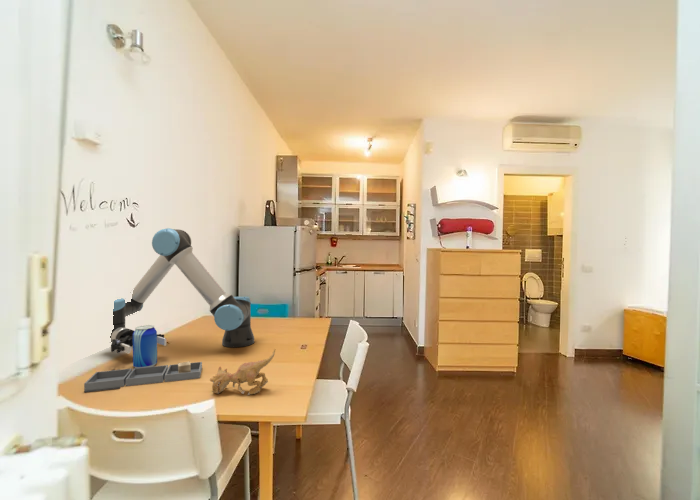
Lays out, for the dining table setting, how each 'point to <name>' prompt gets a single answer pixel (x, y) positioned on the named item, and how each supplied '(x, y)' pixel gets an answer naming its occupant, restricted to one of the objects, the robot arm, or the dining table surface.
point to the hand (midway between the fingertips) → (148, 345)
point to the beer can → (144, 346)
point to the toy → (242, 376)
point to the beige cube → (184, 367)
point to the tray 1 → (107, 380)
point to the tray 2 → (175, 376)
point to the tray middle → (146, 375)
